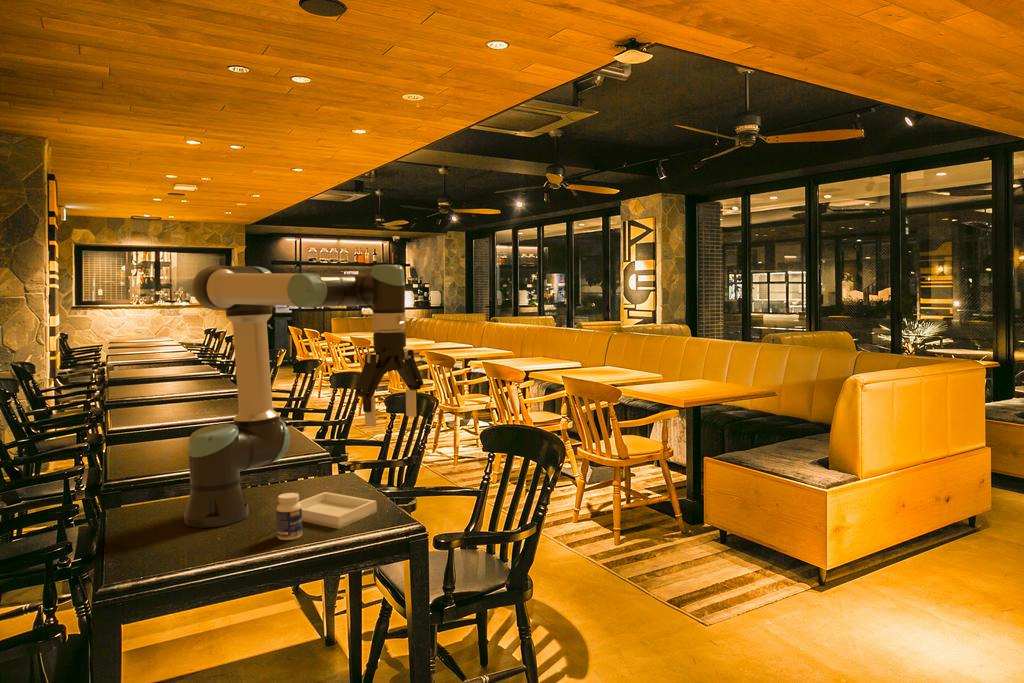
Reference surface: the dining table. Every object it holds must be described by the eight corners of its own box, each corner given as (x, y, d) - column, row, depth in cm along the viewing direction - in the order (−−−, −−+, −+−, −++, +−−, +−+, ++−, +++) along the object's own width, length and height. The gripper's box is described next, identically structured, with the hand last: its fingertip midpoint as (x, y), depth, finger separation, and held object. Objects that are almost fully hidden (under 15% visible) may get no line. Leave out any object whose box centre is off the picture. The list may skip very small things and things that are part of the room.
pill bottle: (294, 541, 157) (293, 499, 156) (272, 540, 158) (270, 498, 158) (307, 532, 163) (305, 492, 162) (285, 531, 164) (283, 491, 163)
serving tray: (285, 518, 174) (285, 506, 174) (325, 502, 186) (324, 491, 186) (339, 529, 165) (338, 516, 165) (376, 512, 177) (376, 500, 177)
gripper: (361, 335, 146) (363, 432, 148) (436, 328, 167) (438, 414, 169) (337, 333, 151) (340, 428, 152) (413, 327, 171) (415, 411, 173)
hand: (391, 421), depth 160 cm, fingers open, 13 cm apart
